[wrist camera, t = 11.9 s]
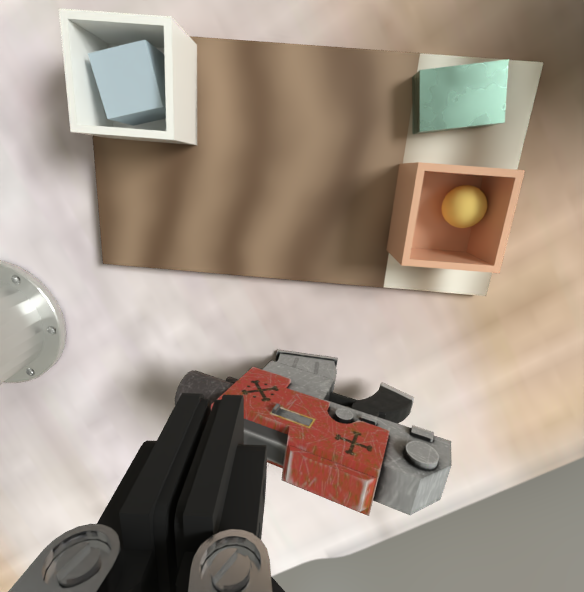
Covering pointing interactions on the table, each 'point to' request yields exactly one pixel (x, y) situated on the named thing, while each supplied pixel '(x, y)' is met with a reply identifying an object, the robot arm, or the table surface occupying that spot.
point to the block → (131, 82)
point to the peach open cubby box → (436, 230)
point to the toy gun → (334, 434)
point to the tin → (459, 97)
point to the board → (295, 167)
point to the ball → (464, 206)
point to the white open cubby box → (118, 31)
